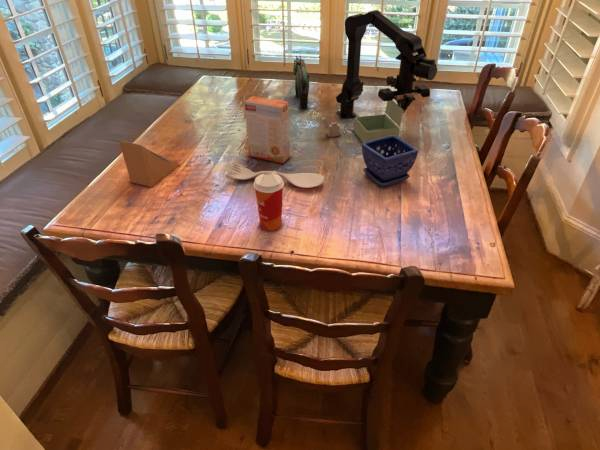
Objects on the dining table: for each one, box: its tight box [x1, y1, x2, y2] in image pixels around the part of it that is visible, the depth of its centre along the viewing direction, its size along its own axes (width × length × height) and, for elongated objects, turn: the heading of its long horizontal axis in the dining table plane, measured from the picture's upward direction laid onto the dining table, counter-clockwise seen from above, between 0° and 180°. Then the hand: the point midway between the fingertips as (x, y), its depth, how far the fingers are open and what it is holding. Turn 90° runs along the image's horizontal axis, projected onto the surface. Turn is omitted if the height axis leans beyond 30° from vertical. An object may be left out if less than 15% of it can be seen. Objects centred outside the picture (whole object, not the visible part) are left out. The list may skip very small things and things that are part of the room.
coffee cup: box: [253, 173, 285, 232], centre depth 121 cm, size 8×8×15 cm
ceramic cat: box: [292, 55, 310, 111], centre depth 193 cm, size 20×6×20 cm, turn 6°
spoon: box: [224, 162, 325, 189], centre depth 143 cm, size 9×32×4 cm, turn 79°
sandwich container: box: [119, 140, 178, 188], centre depth 144 cm, size 9×15×15 cm, turn 158°
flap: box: [384, 99, 405, 128], centre depth 165 cm, size 14×6×1 cm
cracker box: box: [244, 95, 291, 164], centre depth 151 cm, size 14×6×21 cm, turn 65°
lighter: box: [321, 116, 341, 138], centre depth 168 cm, size 7×2×8 cm, turn 103°
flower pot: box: [361, 135, 419, 188], centre depth 142 cm, size 13×13×12 cm
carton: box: [353, 113, 400, 143], centre depth 168 cm, size 14×13×6 cm
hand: (401, 114), depth 167 cm, fingers closed
